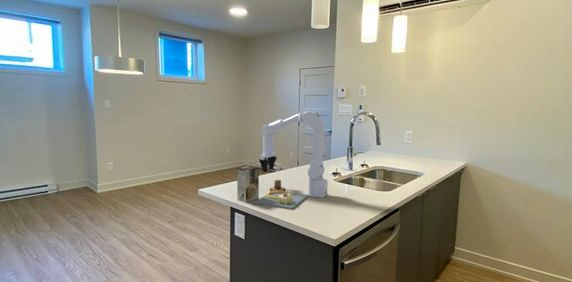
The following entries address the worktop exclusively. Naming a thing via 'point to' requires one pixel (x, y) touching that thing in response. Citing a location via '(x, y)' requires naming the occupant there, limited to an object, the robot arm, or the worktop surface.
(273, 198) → the carrier plate
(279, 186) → the planet gear
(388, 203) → the worktop surface
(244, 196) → the coffee box
